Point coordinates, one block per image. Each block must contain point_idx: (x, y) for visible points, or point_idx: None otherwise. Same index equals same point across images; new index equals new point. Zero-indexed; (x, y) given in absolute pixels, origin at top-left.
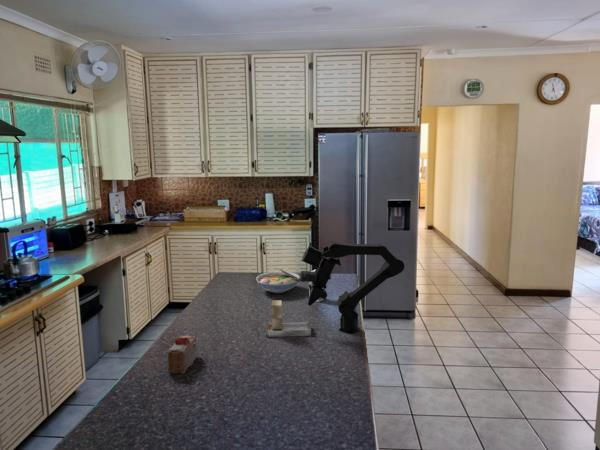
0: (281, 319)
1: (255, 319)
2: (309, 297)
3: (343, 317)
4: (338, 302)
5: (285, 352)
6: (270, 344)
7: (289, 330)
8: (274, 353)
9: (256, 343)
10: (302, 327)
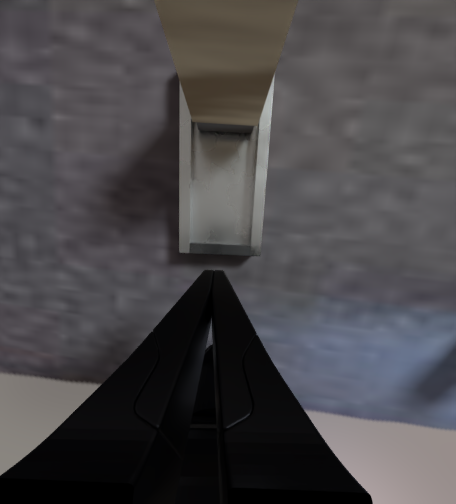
0: (180, 78)
1: (387, 12)
2: (215, 322)
3: (200, 407)
4: (209, 499)
5: (47, 140)
6: (116, 81)
7: (180, 158)
8: (37, 94)
9: (127, 14)
10: (234, 222)
